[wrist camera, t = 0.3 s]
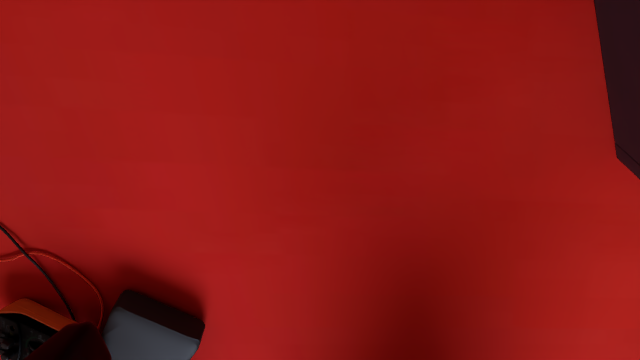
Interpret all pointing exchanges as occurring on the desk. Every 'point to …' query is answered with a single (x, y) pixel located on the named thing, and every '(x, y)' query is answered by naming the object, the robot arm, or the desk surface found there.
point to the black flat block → (118, 334)
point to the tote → (622, 74)
